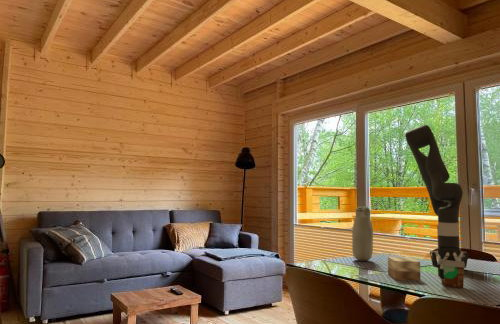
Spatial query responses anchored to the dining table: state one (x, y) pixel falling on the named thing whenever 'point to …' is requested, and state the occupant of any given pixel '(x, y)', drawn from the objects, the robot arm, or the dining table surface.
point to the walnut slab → (403, 275)
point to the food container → (453, 273)
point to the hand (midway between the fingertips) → (449, 278)
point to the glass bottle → (362, 235)
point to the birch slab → (404, 264)
